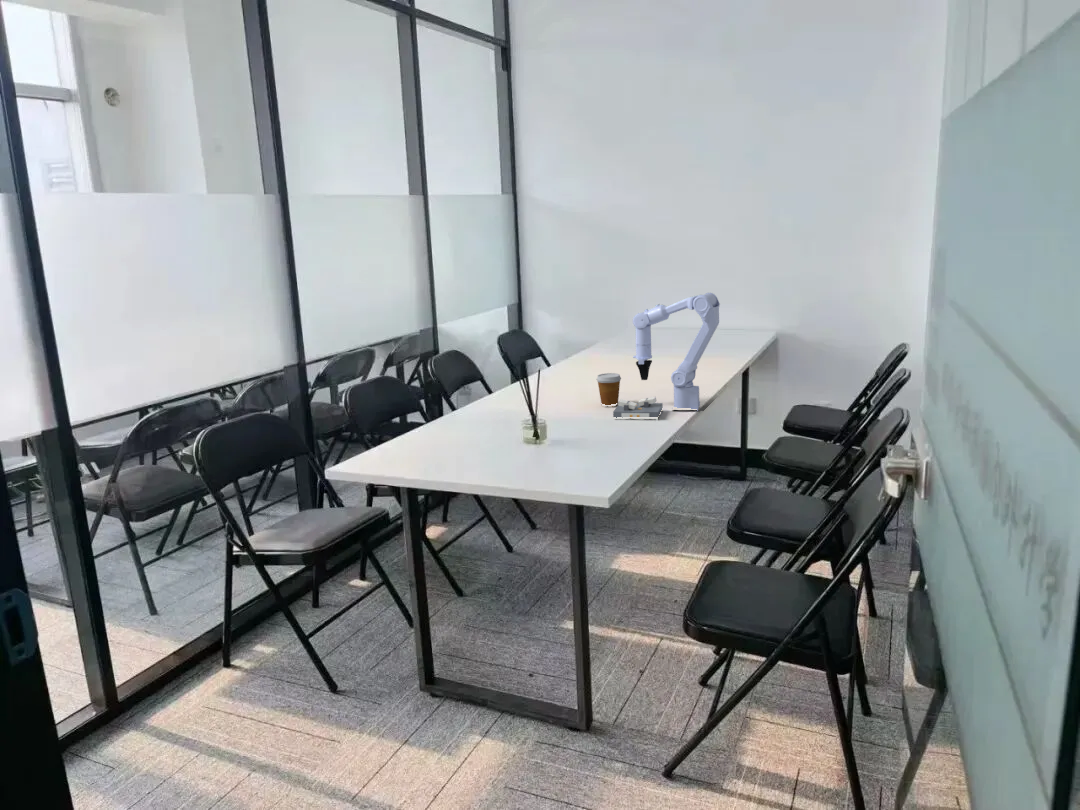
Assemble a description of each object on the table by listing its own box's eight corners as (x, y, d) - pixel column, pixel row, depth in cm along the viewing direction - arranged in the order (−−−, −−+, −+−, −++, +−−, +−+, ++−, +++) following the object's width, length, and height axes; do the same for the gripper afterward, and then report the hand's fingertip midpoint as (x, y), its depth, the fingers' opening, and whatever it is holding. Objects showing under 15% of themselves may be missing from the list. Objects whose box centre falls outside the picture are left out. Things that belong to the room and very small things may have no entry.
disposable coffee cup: (595, 408, 304) (593, 377, 301) (600, 402, 312) (599, 372, 310) (619, 408, 301) (618, 377, 298) (624, 402, 309) (623, 372, 307)
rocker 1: (635, 407, 288) (636, 402, 287) (634, 409, 284) (635, 405, 284) (620, 402, 289) (621, 398, 289) (618, 405, 285) (619, 400, 285)
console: (662, 410, 293) (662, 397, 292) (657, 420, 280) (657, 406, 279) (620, 410, 297) (619, 397, 296) (613, 419, 284) (612, 406, 283)
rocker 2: (656, 400, 290) (655, 396, 290) (655, 402, 286) (653, 398, 286) (640, 403, 292) (639, 399, 292) (639, 406, 288) (637, 401, 288)
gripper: (635, 341, 304) (636, 375, 307) (629, 347, 291) (630, 383, 294) (654, 341, 302) (655, 375, 305) (648, 347, 289) (649, 383, 292)
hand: (644, 379), depth 299 cm, fingers closed
